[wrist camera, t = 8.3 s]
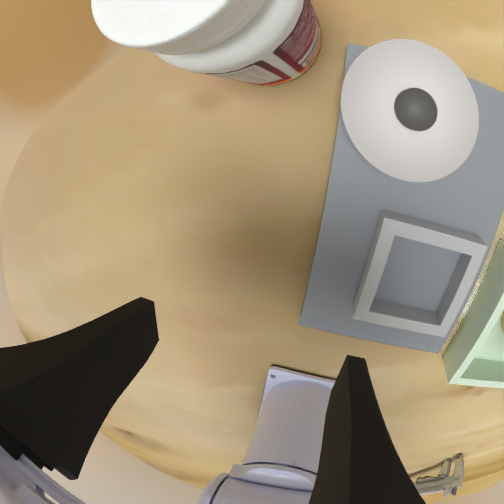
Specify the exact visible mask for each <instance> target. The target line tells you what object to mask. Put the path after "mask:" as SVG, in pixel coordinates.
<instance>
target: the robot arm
mask: <svg viewBox="0 0 504 504" xmlns="http://www.w3.org/2000/svg"><path fill="white" fill-rule="evenodd" d="M158 341H159V337H158V330H157V322H156V315H155V307H154V301H151V300H148V299H145V298H142V297H140V298H138V299H135V300H133V301H131V302H129V303H127V304H125V305H123V306H121V307H119V308H117V309H115V310H113V311H111V312H109V313H107V314H105V315H103V316H101V317H98V318H96V319H94V320H92V321H90V322H88V323H85V324H83V325H81V326H79V327H76V328H74V329H72V330H69V331H67V332H64V333H61V334H59V335H56V336H53V337H50V338H47V339H43V340H39V341H35V342H31V343H27V344H23V345H18V346H12V347H5V348H0V504H55V503H53V502H52V501H50V500H49V499H47V498H46V497H45V496H44V491H45V492H46V493H47V494H49V495H50V496H51V497H52V498H54V499H55V500H56V501H57V502H59V503H60V504H86V503H84V502H83V501H81V500H80V499H78V498H77V497H75V496H74V495H73V494H71V493H70V492H68V491H67V490H66V489H64V488H63V487H62V486H61V485H59V484H58V483H57V482H55V481H54V480H53V479H52V478H50V477H49V476H48V475H47V474H46V473H44V472H43V471H42V470H41V469H42V468H43V466H45V467H46V468H47V469H49V470H50V471H52V470H53V469H54V468H55V469H56V470H57V471H59V472H60V473H61V474H63V475H64V476H65V477H67V478H68V479H70V480H75V479H78V477H79V474H80V471H81V468H82V466H83V463H84V461H85V458H86V456H87V454H88V451H89V449H90V447H91V445H92V443H93V441H94V438H95V437H96V435H97V433H98V431H99V429H100V427H101V425H102V423H103V422H104V420H105V418H106V416H107V415H108V413H109V411H110V410H111V408H112V406H113V405H114V403H115V402H116V401H117V399H118V398H119V397H120V395H121V394H122V393H123V391H124V390H125V389H126V388H127V386H128V385H129V384H130V382H131V381H132V380H133V379H134V377H135V376H136V375H137V373H138V372H139V371H140V369H141V368H142V367H143V366H144V364H145V363H146V362H147V360H148V358H149V357H150V355H151V353H152V352H153V350H154V348H155V346H156V345H157V343H158ZM197 504H426V503H425V501H424V500H423V499H422V497H421V495H420V494H419V492H418V490H417V489H416V487H415V485H414V484H413V482H412V480H411V479H410V477H409V476H408V474H407V472H406V470H405V468H404V466H403V464H402V462H401V460H400V458H399V456H398V454H397V452H396V450H395V447H394V445H393V443H392V440H391V438H390V435H389V433H388V430H387V428H386V425H385V423H384V420H383V417H382V414H381V411H380V408H379V405H378V402H377V399H376V396H375V393H374V389H373V386H372V383H371V379H370V375H369V372H368V368H367V364H366V361H365V359H364V358H360V357H355V356H350V355H347V357H346V359H345V361H344V364H343V366H342V368H341V370H340V373H339V375H338V377H337V379H336V380H331V379H326V378H322V377H317V376H313V375H309V374H304V373H300V372H296V371H292V370H288V369H284V368H280V367H276V366H271V367H270V368H269V371H268V376H267V380H266V385H265V389H264V394H263V399H262V403H261V407H260V412H259V416H258V422H257V425H256V428H255V430H254V433H253V436H252V438H251V441H250V443H249V446H248V449H247V451H246V454H245V456H244V459H243V461H242V464H241V465H238V464H234V465H233V467H232V469H231V472H230V473H221V474H219V475H218V476H217V477H215V478H213V479H212V480H211V481H210V482H209V483H208V484H207V485H206V487H205V488H204V490H203V492H202V493H201V495H200V498H199V501H198V503H197Z"/></svg>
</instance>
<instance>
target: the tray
mask: <svg viewBox="0 0 504 504" xmlns="http://www.w3.org/2000/svg"><path fill="white" fill-rule="evenodd" d="M503 310H504V240H501V239H500V240H499V243H498V245H497V248H496V251H495V253H494V256H493V258H492V261H491V263H490V265H489V268H488V270H487V272H486V275H485V277H484V279H483V281H482V284H481V286H480V288H479V290H478V292H477V294H476V296H475V298H474V300H473V302H472V304H471V306H470V308H469V310H468V312H467V314H466V316H465V318H464V320H463V322H462V323H461V325H460V327H459V329H458V331H457V332H456V334H455V336H454V338H453V339H452V341H451V343H450V344H449V346H448V348H447V349H446V351H445V353H444V354H443V360H444V365H445V370H446V374H447V379H448V383H450V384H459V385H469V386H480V387H493V388H504V334H503V332H502V330H501V327H500V318H501V315H502V312H503Z"/></svg>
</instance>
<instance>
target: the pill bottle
mask: <svg viewBox="0 0 504 504" xmlns="http://www.w3.org/2000/svg"><path fill="white" fill-rule="evenodd" d="M91 3H92V12H93V16H94V19H95V21H96V24H97V26H98V27H99V29H100V30H101V32H102V33H103V34H104V35H105V36H106V37H108V38H109V39H110V40H112V41H114V42H116V43H118V44H121V45H124V46H127V47H132V48H137V49H142V50H146V51H150V52H153V53H155V54H156V55H157V56H158V57H160V58H161V59H162V60H164V61H165V62H167V63H169V64H171V65H173V66H175V67H178V68H181V69H184V70H187V71H191V72H195V73H200V74H208V75H213V76H219V77H224V78H228V79H233V80H237V81H242V82H246V83H250V84H256V85H277V84H282V83H285V82H288V81H290V80H293V79H295V78H296V77H298V76H300V75H301V74H302V73H304V72H305V71H306V70H307V69H308V68H309V67H310V66H311V65H312V63H313V62H314V61H315V59H316V57H317V55H318V52H319V49H320V45H321V30H320V26H319V22H318V19H317V17H316V14H315V11H314V8H313V6H312V4H311V1H310V0H91Z"/></svg>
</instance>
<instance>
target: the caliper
mask: <svg viewBox="0 0 504 504" xmlns="http://www.w3.org/2000/svg"><path fill="white" fill-rule="evenodd" d="M451 460H452V459H450V458H447V459H445V462H444V464H443V466H442V468H441V470H440V472H439V475H438V477H431V476H426V477H423V478H421V477H419V478H417V481H416V483H413V484H414V485H415V487H416V489H417V490H418V492H419V494H420V495H425V494H432V493H438V492H444V491H445V492H444V497H446V498H447V497H448V496H449V494H450V493H451V495H453V496H455V495H456V491H457V488H460V487H461V485H462V481H463V477H464V461H463V456H462V455H460V454H457V459H456V464H455V469H454V473H453V476H450V477H448V476H449V472H450V467H451Z"/></svg>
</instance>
